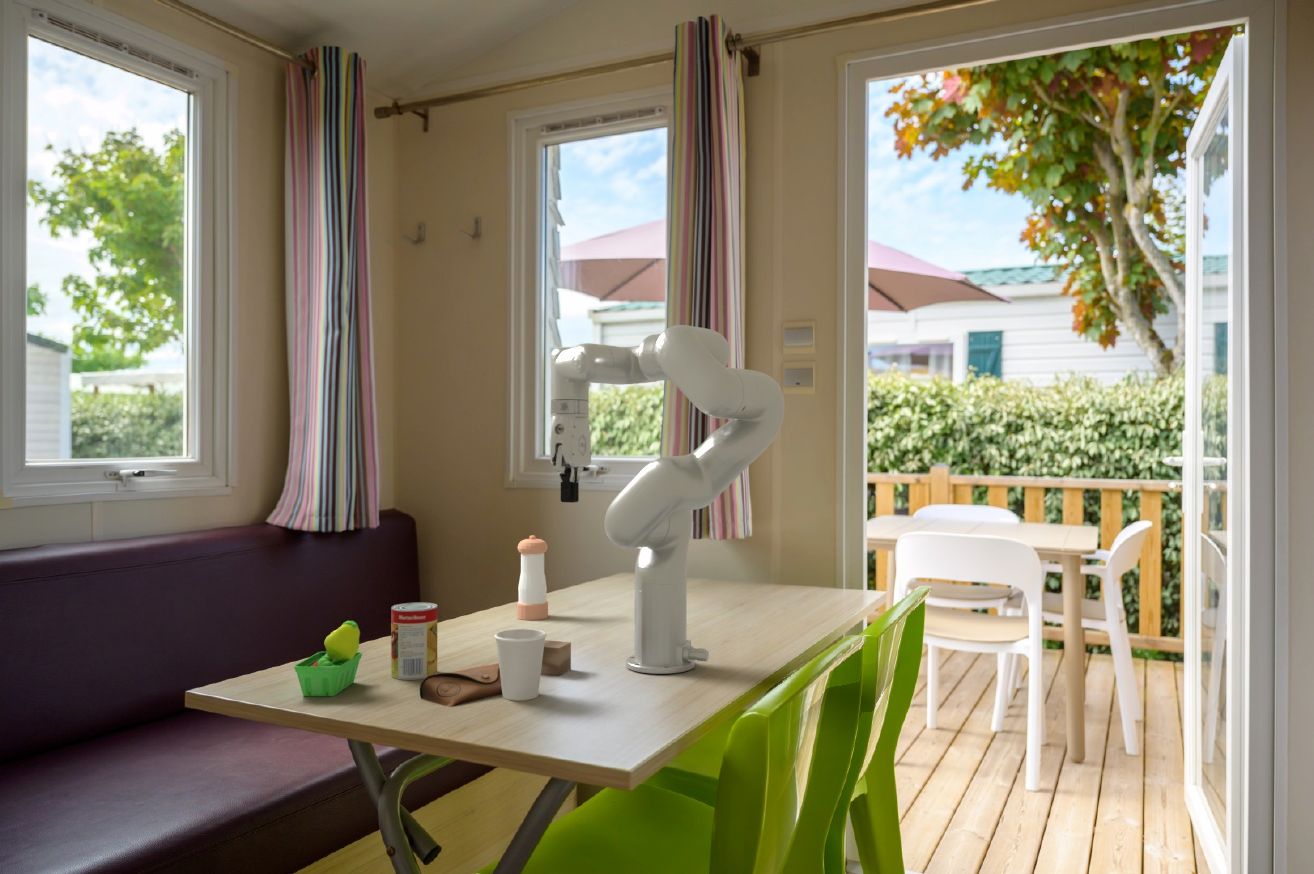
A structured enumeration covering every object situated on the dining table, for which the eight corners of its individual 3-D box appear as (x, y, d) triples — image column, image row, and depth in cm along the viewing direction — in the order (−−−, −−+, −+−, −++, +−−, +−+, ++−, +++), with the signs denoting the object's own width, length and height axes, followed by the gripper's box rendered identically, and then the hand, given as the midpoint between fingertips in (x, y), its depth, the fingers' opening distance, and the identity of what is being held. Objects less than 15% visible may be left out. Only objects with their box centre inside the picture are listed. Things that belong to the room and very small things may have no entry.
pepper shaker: (545, 620, 213) (546, 537, 213) (514, 620, 213) (514, 537, 213) (550, 614, 220) (550, 534, 220) (519, 614, 220) (519, 533, 220)
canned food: (435, 667, 168) (435, 601, 168) (439, 677, 161) (439, 608, 161) (390, 670, 166) (390, 603, 166) (392, 681, 158) (392, 611, 158)
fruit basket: (319, 680, 159) (320, 614, 159) (370, 680, 159) (371, 614, 159) (291, 698, 148) (291, 627, 148) (346, 699, 147) (346, 628, 147)
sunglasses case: (449, 707, 142) (436, 666, 145) (426, 723, 146) (415, 682, 149) (540, 686, 155) (527, 648, 158) (517, 700, 159) (505, 664, 162)
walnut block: (570, 670, 167) (570, 642, 167) (558, 676, 162) (558, 647, 162) (545, 667, 168) (545, 640, 168) (533, 674, 164) (533, 645, 164)
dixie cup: (487, 701, 146) (487, 638, 146) (503, 687, 154) (503, 627, 154) (538, 703, 145) (538, 639, 145) (552, 689, 153) (552, 629, 153)
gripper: (571, 408, 176) (570, 504, 176) (601, 411, 190) (601, 500, 190) (535, 408, 178) (535, 503, 178) (568, 411, 192) (568, 499, 192)
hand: (569, 501), depth 184 cm, fingers closed
